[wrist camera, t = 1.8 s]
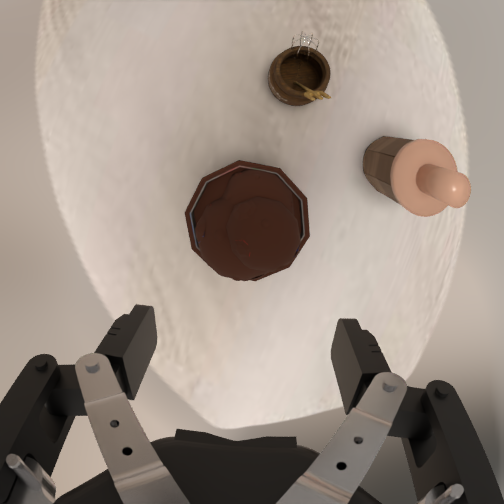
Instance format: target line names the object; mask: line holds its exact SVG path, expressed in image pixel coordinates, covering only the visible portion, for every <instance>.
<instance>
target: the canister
mask: <svg viewBox="0 0 504 504" xmlns="http://www.w3.org/2000/svg"><path fill="white" fill-rule="evenodd" d="M411 141H413V140H409V139H402V138H394V137H385V136H384V137H382V138H380V139H378V140H376V141H374V142H373V143H372V144H371V145H370V146H369V147H368V148H367V150H366V152H365V155H364V159H363V169H364V173H365V175H366V178H367V179H368V181H369V182H370V183H371V184H372V185H373V186H374V187H375V189H376V190H377V191H379V192H380V193H382V194H384V195H386V196H387V197H389V198H391V199H392V200H394V201H395V202H397V203H399V202H398V201H397V199H396V198H395V196H394V193H393V191H392V187H391V181H390V174H391V167H392V163H393V160H394V158H395V156H396V155H397V153H398V152H399V150H400V149H401V148H402V147H403V146H404V145H406V144H407V143H409V142H411ZM399 204H400V203H399ZM400 205H401V204H400Z"/></svg>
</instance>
